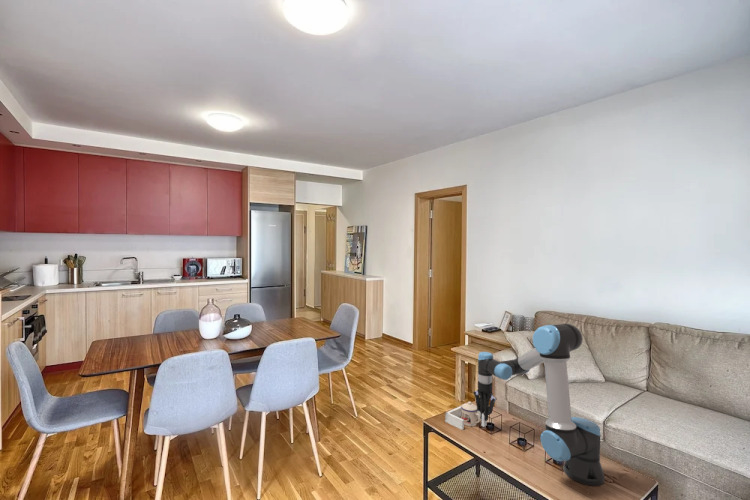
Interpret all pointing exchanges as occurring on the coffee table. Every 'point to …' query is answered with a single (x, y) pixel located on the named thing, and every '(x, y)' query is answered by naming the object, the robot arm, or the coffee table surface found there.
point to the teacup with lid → (470, 414)
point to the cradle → (456, 417)
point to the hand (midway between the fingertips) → (484, 425)
